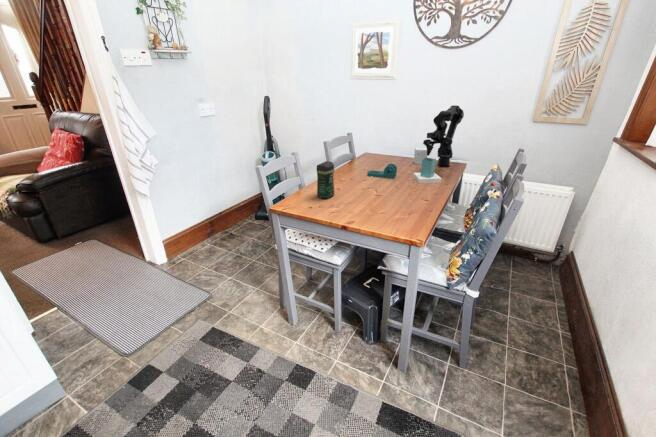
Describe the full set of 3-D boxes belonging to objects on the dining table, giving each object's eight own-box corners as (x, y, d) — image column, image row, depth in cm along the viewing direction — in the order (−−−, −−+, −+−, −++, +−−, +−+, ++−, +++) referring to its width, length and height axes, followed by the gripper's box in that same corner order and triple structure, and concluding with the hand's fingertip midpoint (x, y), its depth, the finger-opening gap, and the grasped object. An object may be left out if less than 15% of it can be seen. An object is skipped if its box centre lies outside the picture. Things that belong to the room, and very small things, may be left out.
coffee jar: (327, 200, 158) (326, 165, 150) (315, 197, 161) (313, 163, 153) (336, 194, 165) (336, 161, 157) (324, 192, 169) (323, 159, 161)
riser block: (433, 176, 191) (433, 172, 189) (440, 183, 179) (441, 178, 178) (412, 177, 190) (413, 172, 189) (419, 184, 179) (419, 179, 177)
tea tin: (424, 173, 187) (426, 157, 183) (433, 175, 183) (436, 159, 179) (420, 176, 183) (422, 159, 178) (430, 177, 179) (432, 161, 175)
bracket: (396, 175, 192) (397, 163, 189) (394, 179, 187) (395, 166, 183) (369, 173, 199) (369, 161, 195) (366, 176, 193) (366, 164, 190)
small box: (424, 162, 218) (426, 148, 214) (426, 164, 213) (428, 149, 209) (413, 162, 219) (414, 148, 215) (414, 164, 214) (416, 149, 210)
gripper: (420, 127, 191) (413, 151, 191) (444, 123, 175) (436, 149, 175) (432, 134, 197) (425, 157, 197) (456, 131, 180) (448, 156, 180)
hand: (433, 155), depth 187 cm, fingers open, 9 cm apart
